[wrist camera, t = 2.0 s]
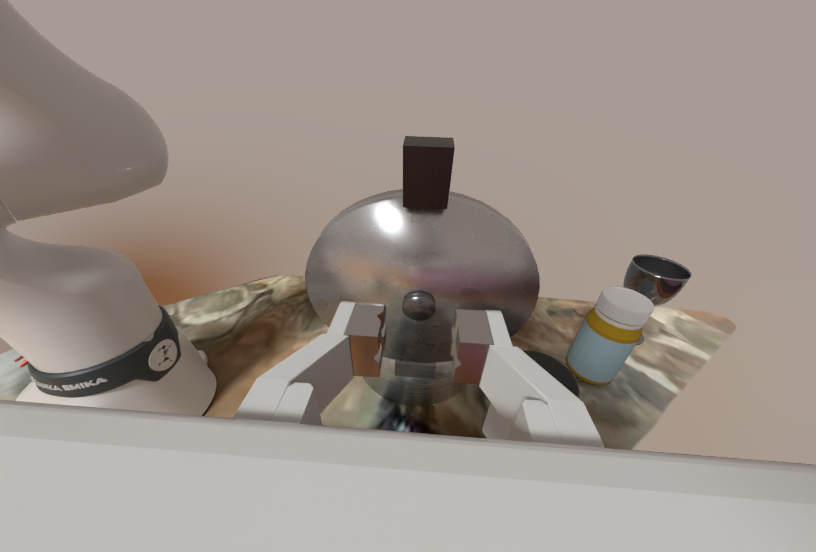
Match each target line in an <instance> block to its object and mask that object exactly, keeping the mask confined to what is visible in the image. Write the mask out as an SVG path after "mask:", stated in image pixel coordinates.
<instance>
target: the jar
mask: <svg viewBox="0 0 816 552" xmlns="http://www.w3.org/2000/svg"><path fill="white" fill-rule="evenodd" d="M523 352H524V353H526V354H527V355H528V356H529V357H530V358H531V359H533V360H534V361H535V362H536V363H537V364H538V365H540V366H541V367H542V368H543V369H544V370H546V371H547V372H548V373H549V374H550V375H551V376H553V377H554V378H555V379H556V380H557V381H559V382H560V383H561V384H562V385H563V386H564V387H566V388H567V389H568V390H569V391H570V392H572V393H573V394H574V395H575V396H576V397H577V398H579V388H578V385H577V382H576V380H575V378H574V377H573V375H572V374H571V372H570V371H569V370H568V369H567V368H566V367H565V366H564V365H563V364H561V363H560V362H559V361H557V360H556V359H554V358H552V357H550V356H548V355H546V354H543V353H540V352H536V351H523ZM510 431H511V429H510V427H509V426H508V425H507V423H506V422H505V421H504V419H503V418H502V416H501V415H500V414H499V412H498V411H497V410H496V408H495V407H494V406H493V404H492V403H491V402H490V405H489V408H488V412H487V415H486V418H485V421H484V424H483V428H482V432H483V433H484V435H485V436H486V438H487V439H499V440H507V438H508V436H509V434H510Z"/></svg>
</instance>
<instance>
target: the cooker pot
mask: <svg viewBox="0 0 816 552" xmlns="http://www.w3.org/2000/svg"><path fill="white" fill-rule="evenodd" d="M363 378H364V380H365V381H366V382H367V384H368V385H369V386H370V387H371V388H372V389H373V390H374V391H376V392H377V393H378V394H380V395H381V396H383V397H385V398H386V399H389V400H391V401H394V402H396V403H400V404H404V405H411V406H425V405H432V404H436V403H440V402H443V401H445V400H448V399H449V398H451V397H453V396H455V395H456V394H457V393H459V392H460V391H461V390H462V389H463V388H464V387H465V385H466V384H464V383H453V376H452V361H448V362H439V363H415V362H406V361H399V360H394V359H389V358H385V357H382V366H381V371H380V376H379V377H365V376H363Z"/></svg>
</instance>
